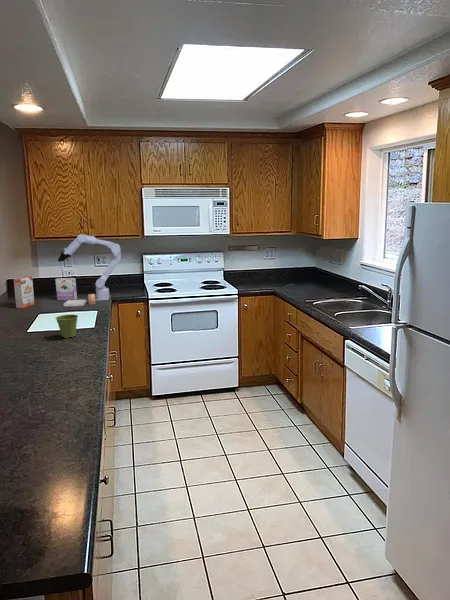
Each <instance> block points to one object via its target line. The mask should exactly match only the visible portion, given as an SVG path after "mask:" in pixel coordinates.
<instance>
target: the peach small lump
mask: <svg viewBox="0 0 450 600" xmlns="http://www.w3.org/2000/svg"><path fill="white" fill-rule="evenodd" d="M87 299H88V300H87V301H88V305H89V304H90V305H92V306H94V305H96V304H97V302H96V293H89V294H87ZM93 304H94V305H93Z"/></svg>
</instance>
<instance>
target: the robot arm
mask: <svg viewBox="0 0 450 600" xmlns="http://www.w3.org/2000/svg"><path fill="white" fill-rule="evenodd" d="M83 243H85V244H87V245H93V246H94V245H96V244H97V245H101V246H105V247H107V248H108V249H110V251H111V253H112V255H113V259H112V260H111V262H110V263H109V264H108V265H107V267H106V269H105V271H104V272H103V273H102V275H101V276H100V277H99V278H98V279H97V280H96V281H95V282H94V283H95V299H96V301H109V300H110V289H109V287H106V286H105V285H106V281H107V280H108V278H109V277H110V276H111V274H112V273H113V271H114V270H115V268H116V266H117V265H118V264H119V262H120V261H121V259H122V249H121V246H120V244H119V243H115V242H113V241H108V240H104V239H97V238H96V236H94V235H87V234H85V233H84V234H78V235H77V237H76V238H75V239H73V241H72V242H71V243H69V244H68V246H67V247H63V250H64V251H61V252H60V255H59V257H58V259H57V261H58V263H61V262H64V261H65V260H67V259H69V258H71V257H72V255H73V254H74V252H75V251H76V250H78V248H80V247H81V244H83Z"/></svg>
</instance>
